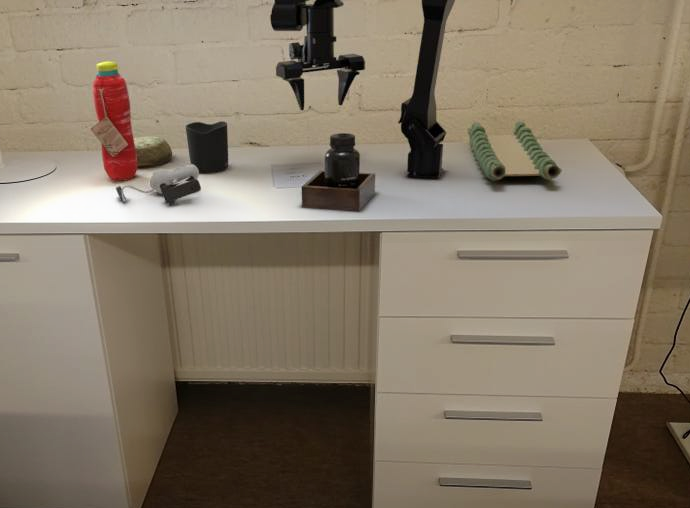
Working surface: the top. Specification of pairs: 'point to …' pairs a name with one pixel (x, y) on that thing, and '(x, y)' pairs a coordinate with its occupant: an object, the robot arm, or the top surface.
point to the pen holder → (208, 146)
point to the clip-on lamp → (171, 183)
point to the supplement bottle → (342, 162)
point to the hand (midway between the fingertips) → (321, 107)
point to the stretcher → (511, 154)
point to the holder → (337, 193)
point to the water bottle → (114, 122)
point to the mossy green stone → (152, 151)
